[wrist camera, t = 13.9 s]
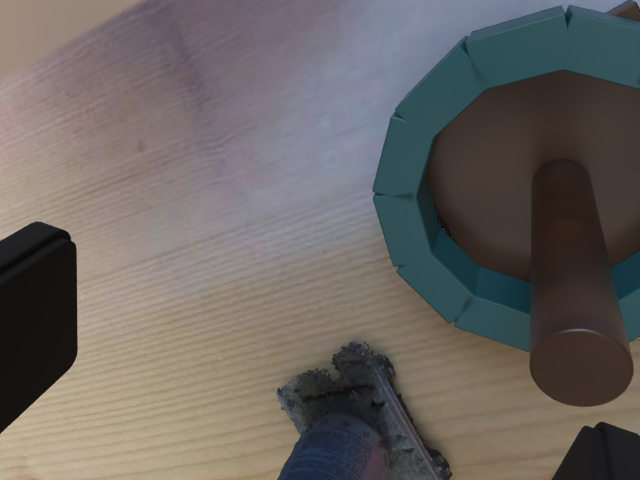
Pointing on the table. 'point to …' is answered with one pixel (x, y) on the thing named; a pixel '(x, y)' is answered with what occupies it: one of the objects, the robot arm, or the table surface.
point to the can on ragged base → (355, 425)
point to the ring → (439, 111)
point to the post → (552, 214)
